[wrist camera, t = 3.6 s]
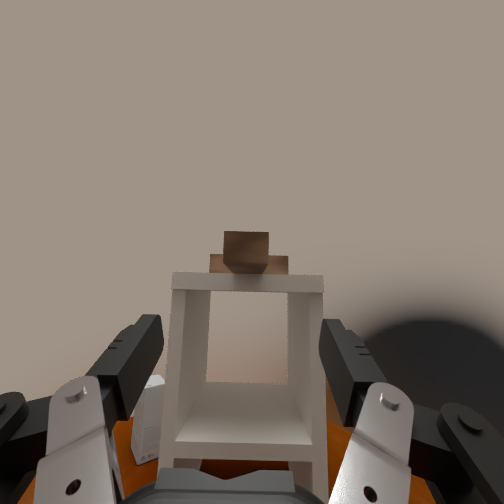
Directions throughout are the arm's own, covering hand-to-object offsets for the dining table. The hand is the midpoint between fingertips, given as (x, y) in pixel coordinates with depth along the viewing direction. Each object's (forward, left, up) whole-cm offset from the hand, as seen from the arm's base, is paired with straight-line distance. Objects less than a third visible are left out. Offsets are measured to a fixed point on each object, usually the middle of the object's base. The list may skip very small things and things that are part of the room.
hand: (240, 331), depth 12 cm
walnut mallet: (0, -19, +4) cm, 20 cm away
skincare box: (+18, -36, -27) cm, 48 cm away
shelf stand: (0, -25, -27) cm, 36 cm away
